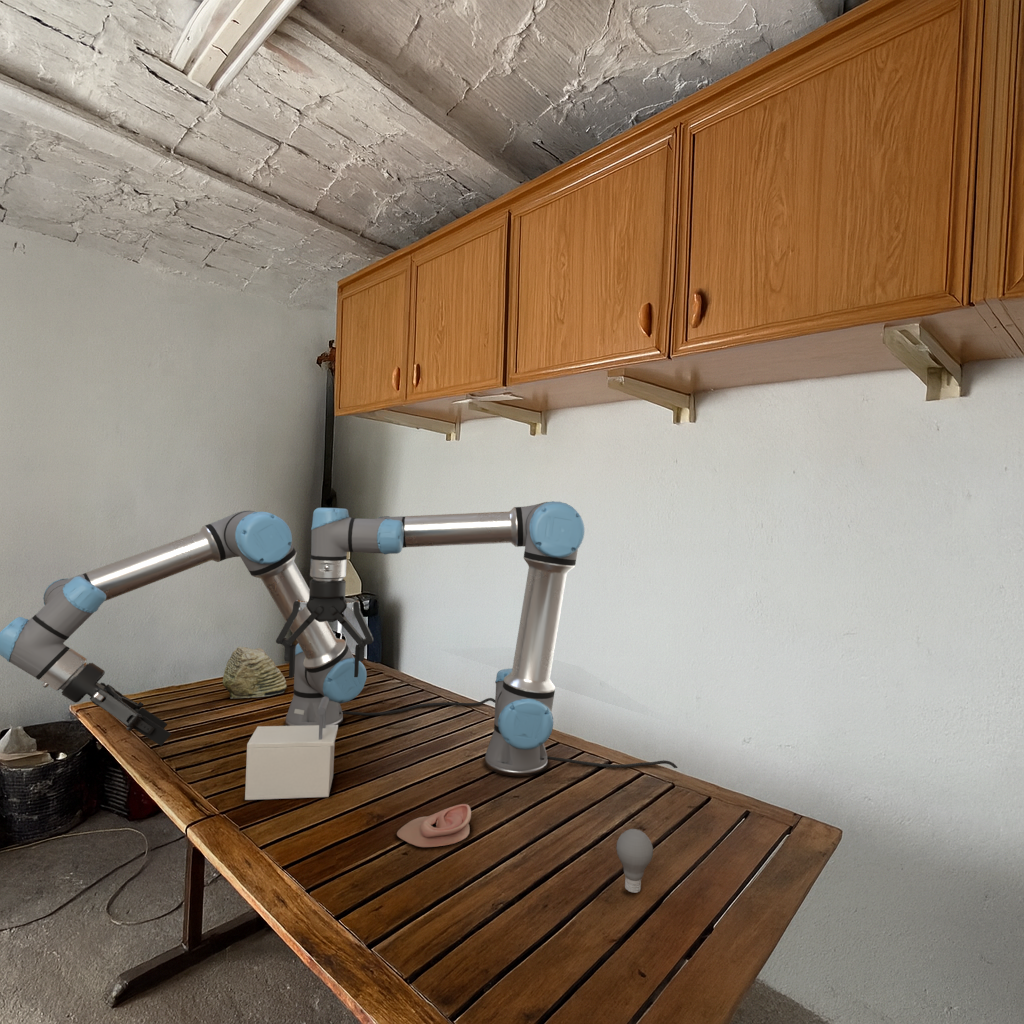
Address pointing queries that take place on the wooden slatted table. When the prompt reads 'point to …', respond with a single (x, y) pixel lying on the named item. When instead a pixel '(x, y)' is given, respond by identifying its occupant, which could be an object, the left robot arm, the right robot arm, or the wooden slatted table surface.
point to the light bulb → (634, 857)
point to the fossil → (252, 674)
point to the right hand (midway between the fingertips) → (324, 675)
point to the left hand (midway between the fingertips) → (164, 734)
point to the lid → (296, 733)
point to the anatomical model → (438, 827)
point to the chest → (289, 772)
